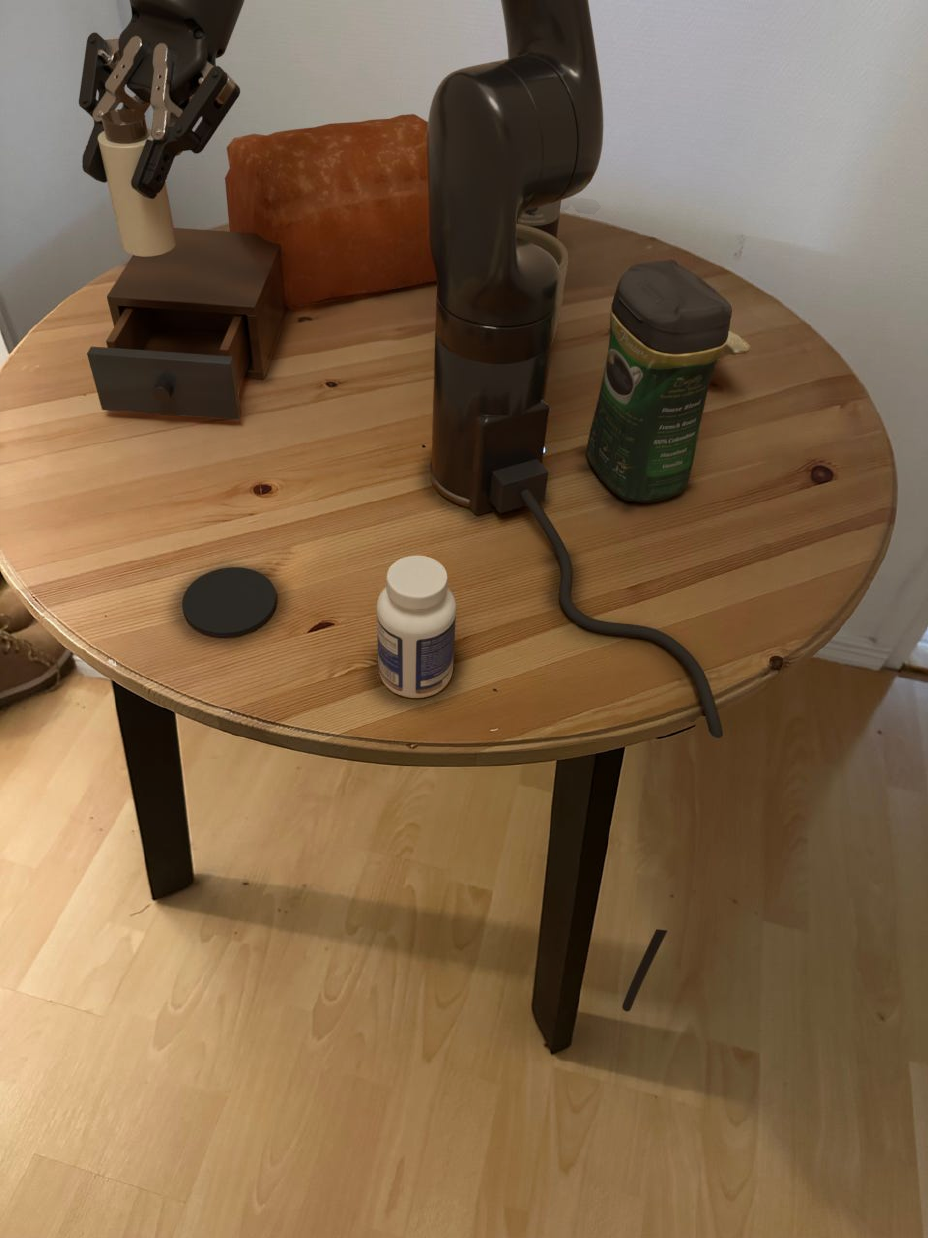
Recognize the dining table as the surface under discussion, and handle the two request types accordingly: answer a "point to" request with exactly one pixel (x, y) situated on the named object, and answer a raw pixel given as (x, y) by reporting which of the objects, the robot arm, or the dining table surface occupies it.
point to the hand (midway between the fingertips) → (118, 184)
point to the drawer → (173, 363)
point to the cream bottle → (136, 216)
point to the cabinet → (212, 284)
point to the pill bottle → (416, 628)
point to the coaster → (229, 602)
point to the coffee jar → (656, 380)
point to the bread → (337, 205)
